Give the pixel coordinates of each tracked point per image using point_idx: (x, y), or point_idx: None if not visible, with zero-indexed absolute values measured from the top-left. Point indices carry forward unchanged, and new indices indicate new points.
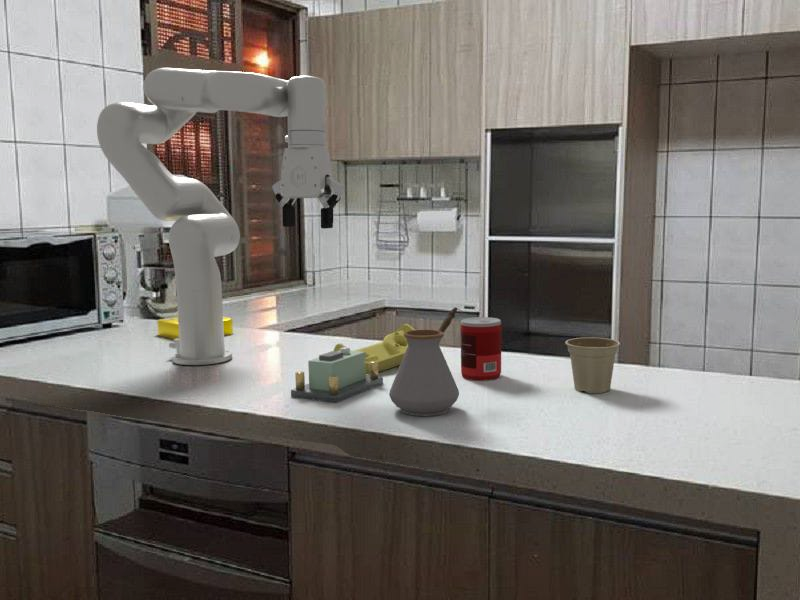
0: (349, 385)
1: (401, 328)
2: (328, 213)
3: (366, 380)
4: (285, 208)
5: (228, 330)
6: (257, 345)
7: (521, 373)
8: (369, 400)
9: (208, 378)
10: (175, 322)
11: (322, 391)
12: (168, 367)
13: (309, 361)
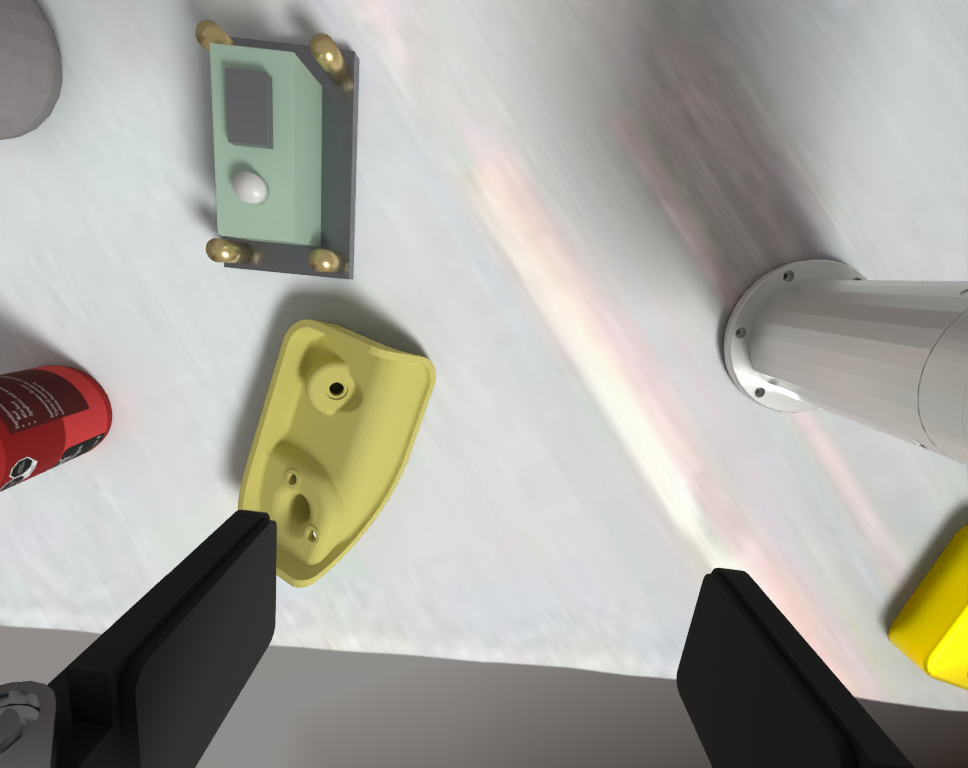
0: None
1: (312, 570)
2: (89, 646)
3: None
4: (841, 747)
5: (901, 631)
6: (747, 533)
7: None
8: (168, 99)
9: (666, 158)
10: None
11: None
12: (841, 231)
13: (290, 53)
